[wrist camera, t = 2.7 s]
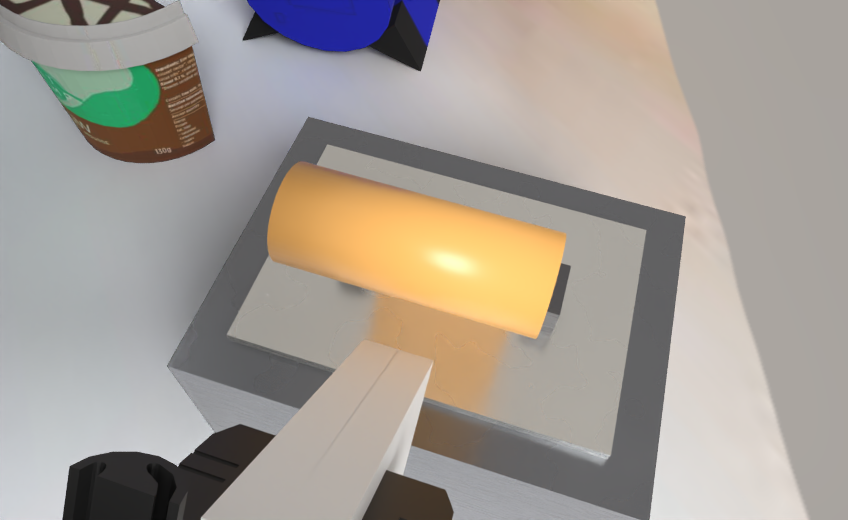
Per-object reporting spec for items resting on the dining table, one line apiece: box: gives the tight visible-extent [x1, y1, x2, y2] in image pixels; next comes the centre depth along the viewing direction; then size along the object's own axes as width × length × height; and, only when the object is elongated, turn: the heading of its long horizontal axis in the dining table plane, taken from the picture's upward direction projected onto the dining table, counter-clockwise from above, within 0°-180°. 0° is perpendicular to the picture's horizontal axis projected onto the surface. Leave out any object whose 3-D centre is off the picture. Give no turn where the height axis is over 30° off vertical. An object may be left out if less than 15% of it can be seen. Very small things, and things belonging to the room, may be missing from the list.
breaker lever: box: [267, 161, 566, 339], centre depth 18 cm, size 2×6×10 cm, turn 74°
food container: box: [0, 0, 215, 163], centre depth 35 cm, size 12×6×10 cm, turn 51°
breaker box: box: [167, 117, 686, 520], centre depth 27 cm, size 12×16×11 cm
